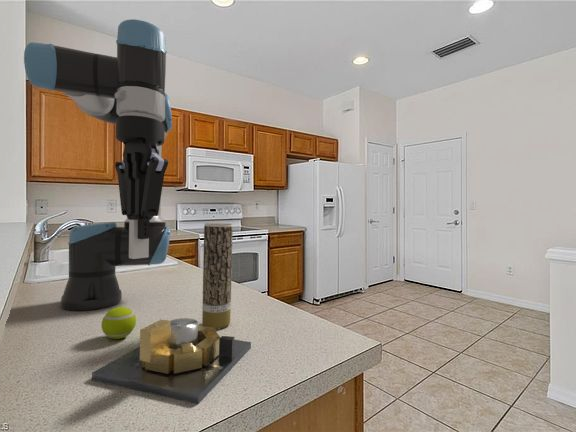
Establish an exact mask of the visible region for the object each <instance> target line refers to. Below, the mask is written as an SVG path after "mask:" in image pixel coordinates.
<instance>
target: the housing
mask: <svg viewBox="0 0 576 432" xmlns="http://www.w3.org/2000/svg"><path fill="white" fill-rule="evenodd" d="M170 321H171V343H170V349H180V348H181V344H186V343H192V345H193V346H196V345H197V344H198V325H199V322H198V320H196V319H194V318H189V317H188V318H185V317H183V318H176V319H171V320H170ZM251 348H252V341H246V340H240V339H235V336H227V335H222V336H220V339H219V355H218V356H217V357H215V358H214V359H213V360H212V361H211V362H210V363H209V364H208V365H206V366H205V365H202V368H198V369H193V370H189V371H184V372H180V373H175V374H174V373H173V371H171V372H170V373H169V374H166V373H161V372H156V371H151V370H146V369H145V367H142V362H141V361H140V345H139V346H137V347H135V348H134V349H131V350H130V351H128V352H126V353H124V354H123V355H121V356H119V357H117V358H115V359H114V360H112V361H110V362H109V363H107V364H105V365H104V366H101V367H100V368H98V369H96V370H94V371H93V372H92V373H91V381H96V382H99V383H103V384H109V385H114V386H119V387H122V388H127V389H131V390H136V391H140V392H144V393H149V394H153V395H158V396H162V397H166V398H171V399H175V400H181V401H185V402H188V403H195V404H198V405H199V404H200V403H201V402H202V401H203V399H205V398H206V396H208V394H209V393H211V392H212V390H213V389H214V388H215V387H216V386H217V385H218V384H219V383H220V381H222V379H224V377H225V376H226V375H227V374H228V373H229V372H230V371H231V370H232V369H233V368H234V366H236V364H237V363H239V361H240V360H241V359H242V358H243V357H244V356H245V355H246V354H247V353H248V352H249V350H251Z"/></svg>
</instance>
